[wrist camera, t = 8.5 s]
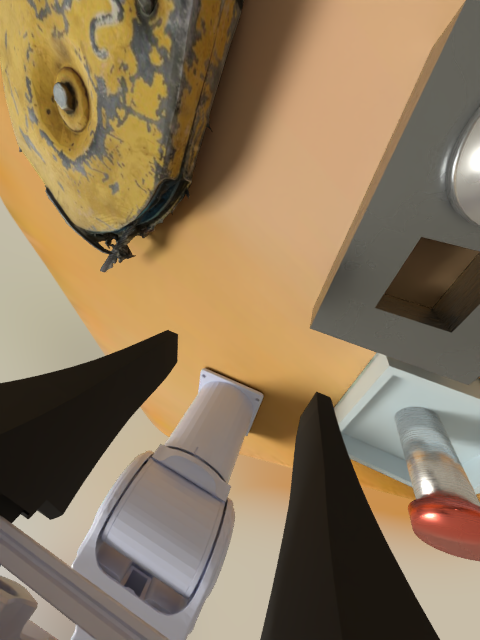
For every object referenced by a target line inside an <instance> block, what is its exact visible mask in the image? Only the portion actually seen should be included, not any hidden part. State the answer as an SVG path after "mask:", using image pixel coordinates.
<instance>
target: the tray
mask: <svg viewBox="0 0 480 640" xmlns="http://www.w3.org/2000/svg"><path fill="white" fill-rule="evenodd" d="M406 407H423V408H427V409H429V410H432V411H433V412H435V413H436V414H437V415H438V416H439V418H440V420H441V422H442V424H443V426H444V428H445V430H446V432H447V435H448V437H449V439H450V441H451V443H452V445H453V447H454V449H455V451H456V454H457V456H458V458H459V460H460V462H461V464H462V466H463V468H464V470H465V473H466V475H467V477H468V479H469V481H470V483H471V485H472V487H473V489H474V492H475V494H479V493H480V379H478V378H477V379H476V380H475V381H473V382H472V383H471V384H469V385H466V384H463V383H461V382H458V381H455V380H452V379H449V378H447V377H444V376H441V375H438V374H435V373H433V372H430V371H427V370H424V369H422V368H419V367H416V366H413V365H410V364H408V363H405V362H402V361H399V360H397V359H394V358H391V357H388V356H385V355H383V354H380V353H376V354H375V355H374V357H373V358H372V359H371V361H370V362H369V363H368V365H367V366H366V367H365V368H364V370H363V371H362V372H361V374H360V375H359V376H358V377H357V379H356V380H355V381H354V383H353V384H352V385H351V386H350V388H349V389H348V390H347V392H346V393H345V394H344V396H343V397H342V398H341V399H340V401H339V402H338V403H337V405H336V406H335V407H334V411H335V415H336V418H337V421H338V425H339V428H340V431H341V434H342V437H343V440H344V443H345V446H346V449H347V452H348V455H349V457H350V459H352V460H354V461H356V462H359V463H361V464H363V465H365V466H367V467H369V468H372V469H374V470H376V471H378V472H380V473H382V474H385V475H387V476H389V477H391V478H393V479H396V480H398V481H400V482H402V483H404V484H406V485H409V486H411V487H413V486H412V482H411V479H410V475H409V471H408V468H407V464H406V460H405V457H404V453H403V449H402V446H401V442H400V438H399V435H398V431H397V427H396V424H395V420H394V416H395V413H396V412H397V411H399V410H400V409H403V408H406Z"/></svg>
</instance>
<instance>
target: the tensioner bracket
mask: <svg viewBox="0 0 480 640" xmlns="http://www.w3.org/2000/svg"><path fill="white" fill-rule="evenodd" d="M421 237H424V238H428V239H432V240H436V241H440V242H444V243H448V244H452V245H456V246H460V247H464V248H468V249H472V250H476V251H480V0H466V1H465V2H464V4H463V5H462V6H461V8H460V9H459V11H458V12H457V14H456V15H455V16H454V18H453V19H452V21H451V22H450V23H449V25H448V26H447V28H446V29H445V31H444V32H443V33H442V35H441V36H440V38H439V39H438V40H437V42H436V43H435V45H434V46H433V48H432V50H431V52H430V54H429V57H428V59H427V61H426V63H425V65H424V67H423V70H422V72H421V74H420V76H419V78H418V81H417V83H416V85H415V87H414V89H413V92H412V94H411V96H410V98H409V100H408V102H407V105H406V107H405V109H404V111H403V113H402V116H401V118H400V120H399V122H398V124H397V127H396V129H395V131H394V133H393V135H392V137H391V140H390V142H389V144H388V146H387V148H386V151H385V153H384V155H383V157H382V159H381V161H380V164H379V166H378V168H377V170H376V172H375V175H374V177H373V179H372V181H371V183H370V186H369V188H368V190H367V192H366V194H365V196H364V199H363V201H362V203H361V205H360V207H359V210H358V212H357V214H356V216H355V218H354V221H353V223H352V225H351V227H350V229H349V231H348V234H347V236H346V238H345V240H344V242H343V245H342V247H341V249H340V251H339V253H338V256H337V258H336V260H335V262H334V264H333V266H332V269H331V271H330V273H329V275H328V277H327V280H326V282H325V284H324V286H323V288H322V291H321V293H320V295H319V297H318V299H317V301H316V304H315V306H314V308H313V312H312V318H311V324H310V329H313V330H316V331H319V332H321V333H324V334H327V335H330V336H333V337H335V338H338V339H341V340H344V341H347V342H349V343H352V344H355V345H358V346H360V347H363V348H366V349H369V350H372V351H374V352H377V353H380V354H383V355H385V356H388V357H391V358H394V359H397V360H399V361H402V362H405V363H408V364H410V365H413V366H416V367H419V368H422V369H424V370H427V371H430V372H433V373H435V374H438V375H441V376H444V377H447V378H449V379H452V380H455V381H458V382H461V383H463V384H466V385H469V384H471V383H472V382H473V381H475V380H476V379H477V378H478V377H480V253H479V254H478V255H477V256H476V258H475V259H474V260H473V261H472V262H471V263H470V265H469V266H468V267H467V268H466V269H465V271H464V272H463V273H462V274H461V275H460V276H459V278H458V279H457V280H456V281H455V282H454V284H453V285H452V286H451V287H450V288H449V290H448V291H447V292H446V293H445V294H444V295H443V297H442V298H441V299H440V300H439V301H438V303H437V304H436V305H435V306H434V307H433V308H432V309H431V308H428V307H425V306H421V305H418V304H415V303H412V302H408V301H405V300H402V299H399V298H395V297H392V296H389V295H386V294H384V293H385V291H386V290H387V288H388V287H389V285H390V284H391V282H392V281H393V279H394V278H395V276H396V275H397V273H398V272H399V270H400V269H401V267H402V265H403V264H404V262H405V261H406V259H407V258H408V256H409V255H410V253H411V252H412V250H413V249H414V247H415V246H416V244H417V243H418V241H419V240H420V238H421Z"/></svg>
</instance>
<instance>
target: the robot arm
mask: <svg viewBox="0 0 480 640" xmlns="http://www.w3.org/2000/svg"><path fill="white" fill-rule="evenodd" d="M177 350H178V334H176V333H174V332H171V331H169V330H167V331H164V332H162V333H160V334H157V335H155V336H153V337H151V338H148V339H146V340H144V341H141V342H139V343H137V344H134V345H132V346H130V347H127V348H125V349H122V350H120V351H117V352H115V353H112V354H109V355H107V356H104V357H102V358H99V359H96V360H93V361H90V362H87V363H83V364H80V365H77V366H74V367H70V368H67V369H63V370H59V371H55V372H51V373H47V374H43V375H39V376H35V377H30V378H26V379H21V380H15V381H11V382H5V383H0V566H1V565H2V566H3V567H4V568H6V569H7V570H8V571H10V572H11V573H12V574H13V575H15V576H16V577H17V578H18V579H20V580H21V581H22V582H24V583H25V584H26V585H27V586H29V587H30V588H31V589H32V590H33V591H35V592H36V593H37V594H38V595H40V596H41V597H42V598H43V599H45V600H46V601H47V602H49V603H50V604H51V605H52V606H54V607H55V608H56V609H57V610H59V611H60V612H61V613H62V614H64V615H65V616H66V617H68V618H69V619H70V620H71V621H73V622H74V623H75V624H76V628H75V632H74V634H73V635H72V637H71V639H70V640H186V638H187V636H188V634H190V633H191V632H192V630H193V628H194V626H195V623H196V621H197V618H198V616H199V613H200V611H201V609H202V606H203V604H204V602H205V600H206V599H207V597H208V596H209V595H210V593H211V591H212V589H213V587H214V585H215V583H216V581H217V578H218V576H219V573H220V571H221V568H222V565H223V562H224V560H225V557H226V553H227V550H228V547H229V544H230V540H231V536H232V532H233V527H234V521H235V512H234V508H233V502H232V500H230V499H229V498H227V497H228V494H229V491H230V488H231V486H230V485H228V482H229V479H230V476H231V473H232V471H233V468H234V465H235V462H236V459H237V457H238V454H239V451H240V448H241V446H242V443H243V440H244V437H245V436H247V435H248V433H249V431H250V428H251V426H252V423H253V421H254V418H255V416H256V414H257V411H258V409H259V406H260V404H261V402H262V399H263V394H262V393H261V392H259V391H256V390H254V389H252V388H249V387H247V386H245V385H243V384H240V383H238V382H236V381H233V380H231V379H229V378H227V377H224V376H222V375H220V374H217V373H215V372H213V371H211V370H208V369H206V368H203V369H202V370H201V374H200V383H199V392H198V395H197V396H196V398H195V399H194V401H193V402H192V404H191V405H190V407H189V408H188V410H187V411H186V413H185V414H184V416H183V417H182V419H181V420H180V422H179V423H178V425H177V426H176V428H175V430H174V431H173V433H172V434H171V436H170V437H169V439H168V440H167V442H166V443H165V445H162V444H160V445H159V447H158V448H157V450H156V451H155V453H154V452H152V451H147V452H145V453H143V454H140V455H138V456H137V457H136V458H135V459H134V460H133V461H132V462H131V463H130V464H129V465H128V466H127V467H126V469H125V470H124V471H123V472H122V474H121V475H120V476H119V478H118V479H117V481H116V482H115V483H114V485H113V486H112V488H111V489H110V491H109V492H108V494H107V496H106V497H105V499H104V500H103V502H102V504H101V506H100V507H99V509H98V511H97V514H96V516H95V518H94V522H93V524H92V526H91V528H90V530H89V532H88V533H87V535H86V537H85V539H84V540H83V542H82V544H81V546H80V547H79V549H78V551H77V557H76V559H75V560H74V562H73V563H72V567H70V566H69V565H67V564H66V563H64V562H63V561H62V560H61V559H59V558H58V557H56V556H55V555H54V554H52V553H51V552H50V551H48V550H47V549H45V548H44V547H43V546H41V545H40V544H39V543H37V542H36V541H34V540H33V539H32V538H31V537H29V536H28V535H26V534H25V533H24V532H22V531H21V530H20V529H18V528H17V527H16V526H14V525H13V524H11V523H12V522H13V521H14V520H15V519H16V518H17V517H18V516H19V515H20V514H21V515H23V516H24V517H26V518H27V519H29V518H30V517H31V516H32V515H33V514H34V513H35V512H36V511H39V512H40V513H42V514H43V515H45V516H46V517H47V518H49V519H50V520H51V519H54V518H57V517H59V516H61V515H63V514H64V512H65V510H66V509H67V507H68V506H69V504H70V503H71V501H72V499H73V498H74V496H75V494H76V493H77V492H78V490H79V489H80V487H81V486H82V484H83V482H84V481H85V479H86V478H87V477H88V475H89V474H90V472H91V471H92V469H93V468H94V466H95V465H96V463H97V462H98V460H99V459H100V458H101V456H102V455H103V453H104V452H105V451H106V449H107V448H108V447H109V445H110V444H111V442H112V441H113V439H114V438H115V437H116V436H117V434H118V433H119V431H120V430H121V429H122V428H123V426H124V425H125V424H126V422H127V421H128V420H129V419H130V417H131V416H132V415H133V414H134V413H135V412H136V410H137V409H138V408H139V407H140V406H141V405H142V404H143V403H144V402H145V401H146V400H147V398H148V397H149V396H150V395H151V394H152V393H153V392H154V391H155V390H156V389H157V387H158V386H159V385H160V384H161V383H162V382H163V381H164V380H165V378H166V377H167V376H168V374H169V373H170V372H171V370H172V369H173V367H174V366H175V364H176V363H177ZM37 604H38V603H37V602H36V600H35V599H34V598H33V597H32V595H31V594H30V593H29V592H28V591H27V590H26V589H25V588H24V587H23V586H21V585H20V584H18V583H17V582H14V581H12V580H10V579H7V578H5V577H2V576H0V640H58V639H56V638H55V637H53V636H52V635H50V634H49V633H48V632H46V631H45V630H43V629H42V628H40V627H39V626H37V625H36V624H35V623H33V622H32V621H30V620H29V618H30V617H31V615H32V614H33V613H34V611H35V610H36V608H37ZM260 640H440V639H439V637H438V635H437V634H436V632H435V630H434V629H433V627H432V625H431V623H430V622H429V620H428V618H427V616H426V614H425V613H424V611H423V609H422V607H421V606H420V604H419V602H418V600H417V599H416V597H415V595H414V593H413V591H412V589H411V587H410V586H409V584H408V582H407V580H406V578H405V576H404V574H403V572H402V570H401V569H400V567H399V565H398V563H397V561H396V559H395V557H394V555H393V554H392V552H391V550H390V548H389V546H388V544H387V542H386V540H385V538H384V536H383V534H382V532H381V530H380V528H379V525H378V524H377V521H376V519H375V517H374V515H373V513H372V511H371V508H370V506H369V504H368V502H367V500H366V497H365V495H364V493H363V490H362V488H361V485H360V483H359V481H358V478H357V476H356V473H355V471H354V468H353V465H352V463H351V460H350V457H349V455H348V452H347V449H346V446H345V443H344V440H343V437H342V434H341V431H340V428H339V425H338V421H337V418H336V415H335V411H334V408H333V404H332V400H331V398H330V397H328V396H326V395H323V394H321V393H318V392H316V393H315V395H314V396H313V398H312V400H311V401H310V403H309V404H308V406H307V407H306V409H305V411H304V412H303V414H302V415H301V417H300V422H299V426H298V431H297V436H296V443H295V452H294V462H293V472H292V483H291V493H290V500H289V507H288V512H287V518H286V523H285V529H284V534H283V539H282V544H281V549H280V554H279V559H278V564H277V569H276V573H275V578H274V583H273V587H272V591H271V596H270V600H269V605H268V609H267V613H266V618H265V622H264V626H263V631H262V635H261V639H260Z"/></svg>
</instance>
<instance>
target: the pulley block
mask: <svg viewBox="0 0 480 640" xmlns="http://www.w3.org/2000/svg"><path fill="white" fill-rule="evenodd" d="M242 7H243V0H0V64H1V71H2V78H3V85H4V91H5V98H6V102H7V106H8V110H9V114H10V118H11V122H12V126H13V129H14V133H15V136H16V140H17V143H18V145H19V151H20V152H23V153H24V155H25V156H26V157H27V159H28V160H29V162H30V163H31V165H32V166H33V168H34V169H35V171H36V172H37V174H38V175H39V176H40V178H41V179H42V181H43V182H44V184H45V187H46V193H47V196H48V198H49V199H50V200H51V202H52V203H53V204H54V205H55V207H56V208H57V210H58V211H59V213H60V214H61V216H62V217H63V219H64V220H65V222H66V223H67V224H68V225H69V226H70V227H71V228H72V229H73V230H74V231H75V232H76V233H77V234H79V235H80V236H81V237H82V238H83V239H84V240H86V241H87V242H88V243H89V244H91V245H92V246H93V247H95V248H96V249H98V250H99V251H101V252H103V253H106V254H109V256H108V258H107V259H106V261H105V263H104V264H103V266H102V267H101V269H100V271H102V272H106V271H107V270H108V269H110V268H113V263H116V262H117V258H118V259H119V263H121V262H122V261H123V260H124V259H129V258H131V257H134V256H133V255H132V253H131V251H130V249H129V247H128V246H127V244H128V243H129V242H130V240H132V239H133V238H134V237H135V236H137V235H140V236H142V238H145V237H146V236H147V235H148V234H149V233H150V232H152V231H154V230H155V229H154V227H155V226H156V225H157V224H159V223H162V222H163V220H164V218H165V217H166V216H167V215H168V214H169V213H170V212H171V213H173V211H174V209H175V207H176V206H177V205H178V204H179V202H180V201H181V200H182V199H183V197H184V196H185V194H186V195H187V197H188V199H189V196H190V195H189V192H188V188H189V186H190V185H191V183H192V174H193V171H194V168H195V165H196V160H197V155H198V152H199V149H200V146H201V143H202V140H203V137H204V133H205V129H206V127H209V114H210V111H211V108H212V104H213V101H214V98H215V94H216V91H217V88H218V84H219V81H220V78H221V74H222V71H223V68H224V64H225V61H226V57H227V54H228V51H229V47H230V44H231V41H232V39H233V36H234V33H235V31H236V28H237V25H238V21H239V18H240V15H241V11H242ZM209 128H210V127H209ZM210 130H211V128H210ZM211 131H212V130H211ZM112 239H115V240H116V243H117V244H116V245H113V244H111V241H112ZM100 241H106V242H105V244H106V245H107V246H108V248H109V249H110V247H109V246H112V247H113V250H112V251H108V250H106V249H104V248H103V247H102V246H101V245H100V244H99V243H98V242H100ZM110 244H111V245H110Z"/></svg>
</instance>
